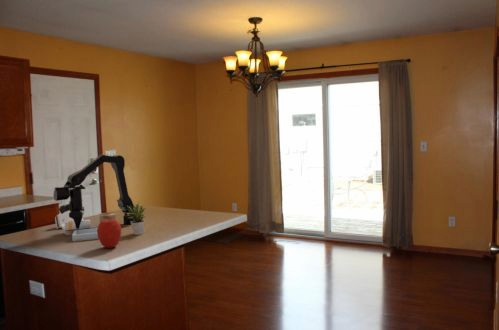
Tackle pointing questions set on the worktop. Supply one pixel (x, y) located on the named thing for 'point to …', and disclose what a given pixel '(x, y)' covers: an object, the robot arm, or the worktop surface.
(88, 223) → the beige and orange bar
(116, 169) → the robot arm
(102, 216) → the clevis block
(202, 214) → the worktop surface
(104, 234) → the red jar
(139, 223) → the house plant
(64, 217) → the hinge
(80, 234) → the tray
